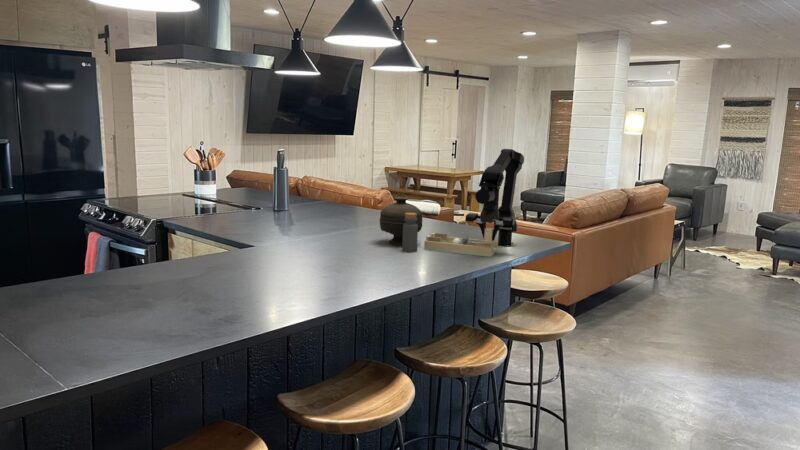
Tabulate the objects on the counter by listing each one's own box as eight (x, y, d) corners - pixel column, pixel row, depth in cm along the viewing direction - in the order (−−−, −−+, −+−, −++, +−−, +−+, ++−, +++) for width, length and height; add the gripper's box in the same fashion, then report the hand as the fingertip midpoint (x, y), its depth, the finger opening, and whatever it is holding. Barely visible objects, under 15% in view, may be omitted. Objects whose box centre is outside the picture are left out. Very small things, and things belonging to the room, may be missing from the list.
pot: (370, 243, 237) (374, 195, 235) (387, 240, 254) (391, 194, 252) (411, 249, 231) (415, 199, 229) (426, 245, 248) (430, 199, 246)
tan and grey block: (465, 245, 237) (466, 225, 236) (493, 248, 233) (494, 228, 232) (462, 248, 233) (463, 227, 231) (490, 251, 229) (492, 230, 227)
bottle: (415, 252, 227) (417, 215, 224) (400, 251, 228) (402, 214, 225) (418, 249, 233) (419, 212, 230) (403, 248, 234) (405, 211, 231)
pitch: (434, 243, 246) (434, 235, 246) (497, 250, 237) (498, 241, 237) (424, 249, 233) (424, 241, 233) (490, 256, 224) (491, 248, 224)
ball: (453, 245, 238) (453, 237, 238) (461, 246, 237) (462, 237, 236) (451, 247, 235) (451, 238, 234) (459, 248, 234) (460, 239, 233)
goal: (433, 241, 244) (433, 232, 244) (446, 243, 242) (447, 233, 242) (425, 246, 235) (426, 236, 234) (440, 247, 233) (440, 238, 232)
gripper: (463, 201, 224) (460, 241, 227) (511, 205, 218) (508, 246, 220) (469, 198, 234) (467, 236, 237) (516, 202, 228) (513, 241, 231)
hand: (488, 240), depth 231 cm, fingers closed on tan and grey block, 3 cm apart
